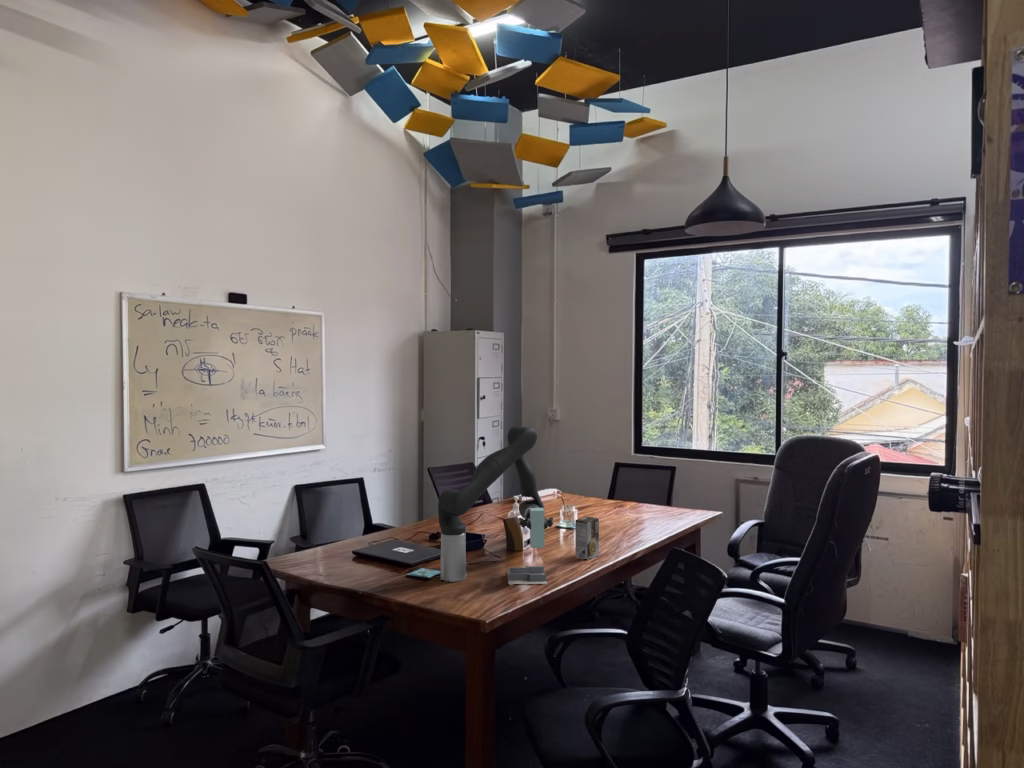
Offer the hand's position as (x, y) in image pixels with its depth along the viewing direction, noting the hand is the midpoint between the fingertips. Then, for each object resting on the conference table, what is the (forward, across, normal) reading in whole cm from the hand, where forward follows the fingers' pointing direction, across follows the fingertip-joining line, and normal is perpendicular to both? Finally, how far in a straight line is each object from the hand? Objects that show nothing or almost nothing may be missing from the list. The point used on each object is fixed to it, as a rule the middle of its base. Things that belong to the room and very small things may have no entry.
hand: (537, 526), depth 246 cm
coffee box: (-31, +23, +21) cm, 44 cm away
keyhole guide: (-2, -4, +20) cm, 21 cm away
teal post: (-3, 0, +8) cm, 8 cm away
